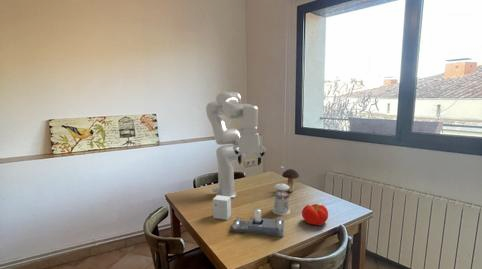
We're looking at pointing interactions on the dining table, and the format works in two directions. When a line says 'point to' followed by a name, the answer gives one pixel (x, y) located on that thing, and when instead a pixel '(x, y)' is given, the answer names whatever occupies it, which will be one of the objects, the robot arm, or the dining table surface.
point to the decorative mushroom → (290, 178)
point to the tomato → (315, 214)
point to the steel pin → (257, 216)
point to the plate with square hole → (259, 227)
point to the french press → (281, 204)
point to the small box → (222, 207)
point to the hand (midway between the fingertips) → (249, 163)
